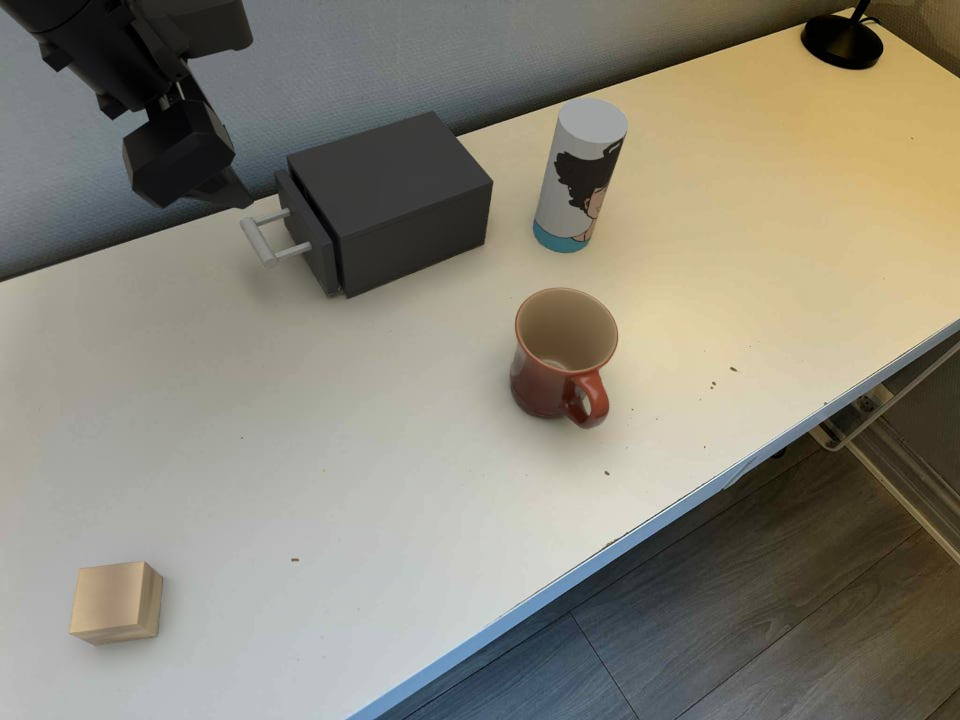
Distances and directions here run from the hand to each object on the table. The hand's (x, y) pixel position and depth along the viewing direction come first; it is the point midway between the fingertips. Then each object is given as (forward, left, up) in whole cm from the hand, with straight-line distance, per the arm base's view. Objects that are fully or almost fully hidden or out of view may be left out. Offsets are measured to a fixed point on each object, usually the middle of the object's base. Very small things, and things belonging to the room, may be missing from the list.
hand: (232, 165), depth 52 cm
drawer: (+9, +7, -16) cm, 20 cm away
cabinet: (+13, +9, -17) cm, 23 cm away
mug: (+26, -14, -18) cm, 35 cm away
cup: (+32, +8, -18) cm, 37 cm away
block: (-10, -28, -17) cm, 35 cm away
